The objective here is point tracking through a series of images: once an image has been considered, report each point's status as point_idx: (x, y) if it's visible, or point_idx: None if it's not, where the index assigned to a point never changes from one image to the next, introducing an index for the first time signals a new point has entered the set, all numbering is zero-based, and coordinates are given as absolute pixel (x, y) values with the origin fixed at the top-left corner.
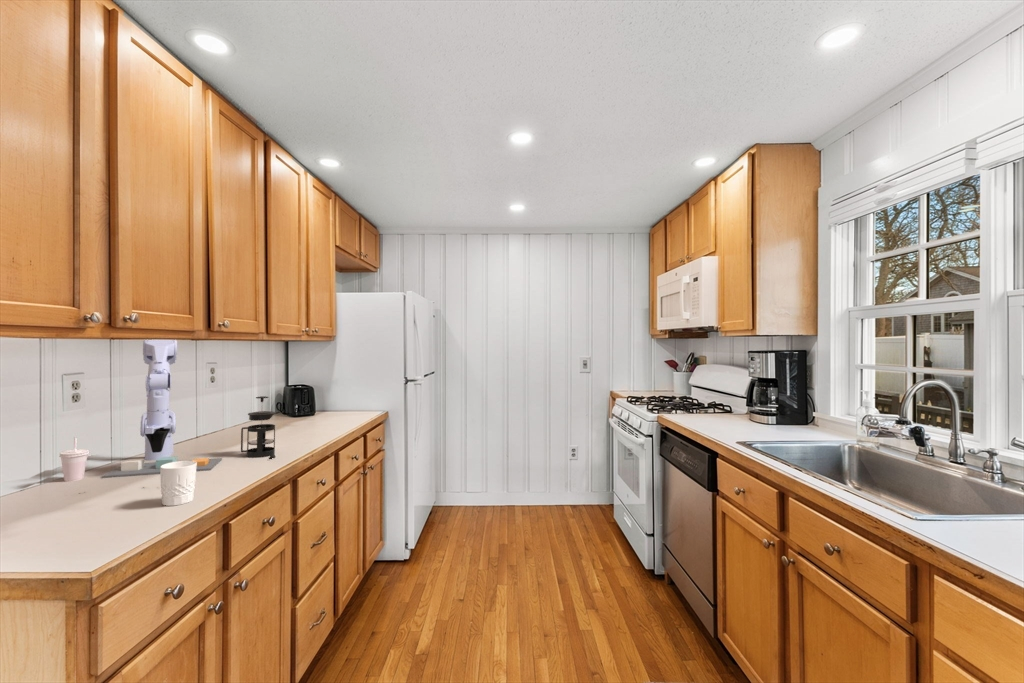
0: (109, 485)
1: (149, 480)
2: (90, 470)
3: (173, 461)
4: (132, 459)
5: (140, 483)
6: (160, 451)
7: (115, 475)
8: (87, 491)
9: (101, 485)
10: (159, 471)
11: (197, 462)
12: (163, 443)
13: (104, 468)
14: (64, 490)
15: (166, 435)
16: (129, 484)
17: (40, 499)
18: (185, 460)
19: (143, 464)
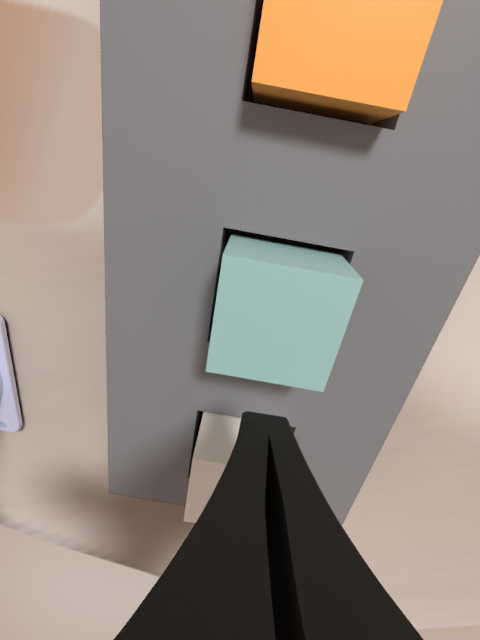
0: (407, 474)
1: (434, 345)
2: (81, 544)
3: (326, 266)
4: (200, 503)
5: (474, 376)
6: (284, 420)
7: (357, 494)
8: (457, 517)
9: (383, 495)
10: (428, 324)
11: (435, 8)
12: (252, 475)
13: (58, 517)
14: (378, 564)
15: (196, 590)
16: (454, 415)
17: (462, 590)
18: (109, 185)
19: (211, 428)
